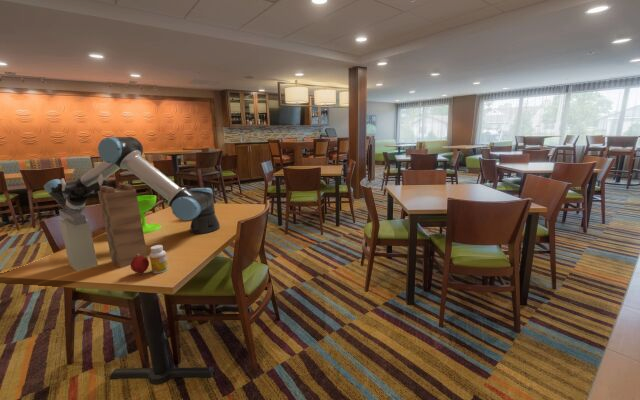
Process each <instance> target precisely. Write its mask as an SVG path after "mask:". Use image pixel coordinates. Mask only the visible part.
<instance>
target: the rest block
mask: <svg viewBox="0 0 640 400" xmlns="http://www.w3.org/2000/svg"><path fill="white" fill-rule="evenodd" d="M58 221H59V226H60V231H61V235H62V239H63V242H64V243H63V244H64V247H65V253H66V255H67V260H68V264H69V265H68V266H69V267H71V268H72V269H73V270H75V272H79V271H81V270H85V269H89V268H92V267H95V266H98V265H99V264H98V259H97V255H96V250H95V246H94V240H93V235H92V231H91V228H90V227H91V226H90V221H89V219H87V218H86V222H87V223H85V224H80V225H76V226H75V225H73V224H72V223H70V222H68V221H67V220H65V219H60V220H58Z"/></svg>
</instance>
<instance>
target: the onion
mask: <svg viewBox="0 0 640 400" xmlns="http://www.w3.org/2000/svg"><path fill="white" fill-rule="evenodd" d="M149 266H150V261H149V259H147V258H146V257H144V256H141V255H140V254H137V255H136V257H135V258H134V259H133V260H132V262H131V265H130V269H131V270H132V271H133V272H135V273H137V274H139V275H143V274H145V272H146V271H147V270H148V268H149Z"/></svg>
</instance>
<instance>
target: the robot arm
mask: <svg viewBox="0 0 640 400" xmlns="http://www.w3.org/2000/svg"><path fill="white" fill-rule="evenodd" d="M97 154H98V156H99V158H100V159H101V160H102V161H101V162H100V163H99V164H97V165H95V167H93V168H92V169H90V170H89V171H87V172H86V173H84V174H82V175H81V176H79V178H77V179H75V180H73V181H68V182H66V181H65V180H66V179H65V178H63V177H62V178H61V179H60V178H59V179H58V178H55V179H51V180H49V181H47V182H46V183H45V184H44V185H43V188H44V190H45V191H46V192H47V195H49V196H50V197H51V198H53V199H54V201H55V202H56V203H58V205H59V206H60V207H61V208H62V209H67V208H70V209H72V210H75V211H77V212H79V213H81V214H83V211H84V209H85V206H86V203H87V202H88V198H89V195H91V194H93V195H97V194H98V191H100V186H109V184H108V182H107V180H106V179H107V178H109V177H110V176H112V175H113V174H115V173H117V171H119V170H120V169H121V170H128V171H129V172H130V173H132V174H133V175H135V176H136V177H137V178H138V179H139V180H140V181H141V182H143V183H144V184H146V185H148V187H150V188H151V189H152V190H153V191H154V192H156V193H157V194H159V195H160V196H161V197H162V198H163V199H165V200H166V201H167V205H168V206H169V207H170V208H171V210H172V214H173V215H174V217H176V218H177V219H179V220H182V221H189V220H191V222H190V229H189V230H190V232H191V233H192V234H207V233H212V232H216V231H217V230H219V229H221V225H220V221H219V220H218V217H217V216H216V210H215V202H214V201H215V200H214V193H213V189H212V188H211V187H195V188H194V187H193V188H189V189H188V188H187V187H185V186H184V187H180V186H179V185H178V184H177V183H175V182H174V181H173V180H172V179H171V178H169V177H168V176H167V175H166V174H164V173H163V172H162V171H160V170H159V169H158V168H157V167H155V166H154V165H153V164H151V162H149V161H147V160H146V158H144V157H143V154H144V146H143V143H142V142H141V141H140V140H138V139H137V138H135V137H132V136H109V137H105V138H103V139H101V140H100V141H99V143H98V146H97Z"/></svg>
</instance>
